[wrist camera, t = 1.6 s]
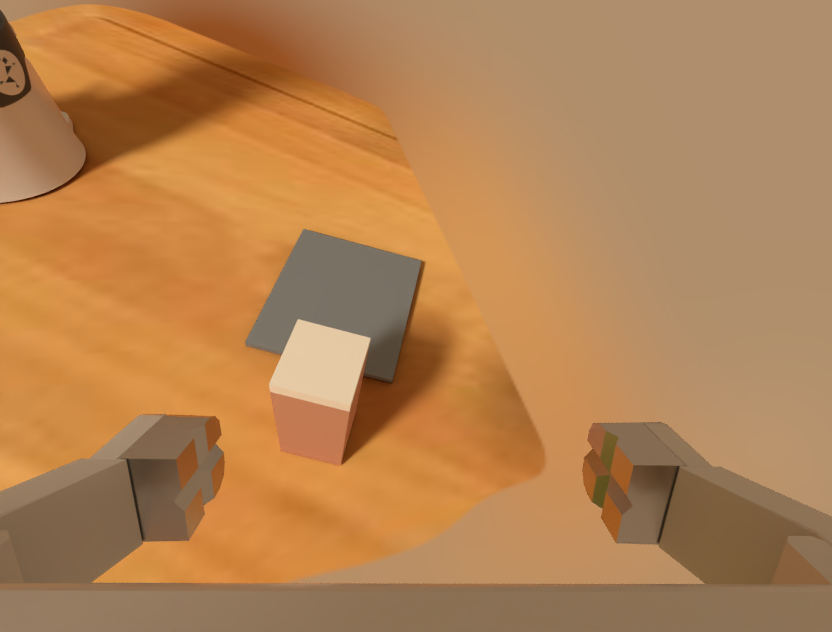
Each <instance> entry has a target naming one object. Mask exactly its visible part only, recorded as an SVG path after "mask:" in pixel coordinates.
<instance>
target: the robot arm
mask: <svg viewBox="0 0 832 632" xmlns="http://www.w3.org/2000/svg"><path fill="white" fill-rule="evenodd" d="M16 36H17V35H16V33H15V31H14V29H13V28H12V26H11V25H10V24H9V23H8V21H7V19H6V18H5V16H4V14H3V13H2V11H1V10H0V203H2V202H10V201H16V200H22V199H26V198H30V197H34V196H37V195H40V194H43V193H46V192H48V191H50V190H53V189H55V188H57V187H59V186H61V185H62V184H64V183H66V182H67V181H69V180H70V179H71V178H72V177H74V176H75V175H76V174H77V173H78V172H79V170H80V169H81V168H82V166H83V164H84V162H85V158H86V151H85V148H84V146H83V144H82V143H81V141H80V140H79V139H78V138H77V136H76V135H75V134H74V132H73V122H72V120H71V119H70V117H69V116H68V114H67V113H65V112H63V111H60V110H59V108H58V106H57V105H56V103H55V101H54V100H53V98H52V96H51V95H50V93H49V92H48V90H47V88H46V87H45V85H44V83H43V82H42V80H41V79H40V77H39V75H38V74H37V72H36V71H35V69H34V68H33V66H32V64H31V63H30V62H29V60H28V59H27V58H25V54H24V52H23V50H22V48H21V46H20V44H19V42H18V40H17V38H16ZM221 435H222V434H221V428H220V422H219V420H218V419H217V418H216V417H215V416H194V415H166V414H144V415H139V416H137V417H136V418H135V419H134V420H133V421H132V422H131V423H129V424H128V425H127V426H126V427H125V428H124V429H123V430H122V431H120V432H119V433H118V434H117V435H116V436H115V437H114V438H112V439H111V440H110V441H109V442H108V443H107V444H106V445H104V446H103V447H102V448H101V449H100V450H99V451H98V452H96V453H95V454H94V455H93V456H92V457H91V458H90V459H79V460H77V461H74V462H72V463H69V464H67V465H64V466H62V467H59V468H57V469H55V470H52V471H50V472H47V473H45V474H42V475H40V476H37V477H35V478H32V479H30V480H27V481H25V482H22V483H20V484H18V485H15V486H13V487H10V488H8V489H5V490H3V491H0V632H832V517H831V516H829V515H827V514H825V513H822V512H820V511H818V510H816V509H814V508H811V507H809V506H807V505H804V504H802V503H800V502H798V501H796V500H793V499H791V498H789V497H787V496H784V495H782V494H780V493H778V492H775V491H773V490H771V489H769V488H766V487H764V486H762V485H760V484H758V483H755V482H753V481H751V480H749V479H746V478H744V477H742V476H739V475H737V474H735V473H733V472H731V471H728V470H726V469H724V468H722V467H713V466H711V465H710V464H709V463H708V462H707V461H706V460H705V459H704V458H703V457H702V456H700V455H699V454H698V453H697V452H696V451H695V450H694V449H693V448H692V447H691V446H690V445H689V444H688V443H686V442H685V441H684V440H683V439H682V438H681V437H680V436H679V435H678V434H677V433H676V432H674V431H673V430H672V429H671V428H670V427H669V426H668V425H667V424H664V423H661V422H650V423H649V422H648V423H593V424H592V426H591V428H590V430H589V435H588V442H589V443H590V445H591V446H592V448H593V449H592V450H591V451H590V452H589V453H588V454H587V455H586V456H585V457H584V463H583V480H584V486H585V488H586V491H587V494H588V496H589V498H590V499H591V501H592V502H593V503H594V504H596V505H597V506H599V507H601V508H602V509H603V510H602V516H601V518H602V520H603V522H604V523H605V525H606V527H607V528H608V530H609V532H610V533H611V535H612V537H613V539H614V540H615V542H616V543H628V544H631V543H632V544H657V545H659V547H660V548H661V549H662V550H664V551H665V552H666V553H667V554H669V555H670V556H671V557H672V558H674V559H675V560H676V561H677V562H679V563H680V564H681V565H683V566H684V567H685V568H686V569H688V570H689V571H690V572H692V573H693V574H694V575H695V576H696V577H698V578H699V579H700V580H702V581H703V582H704V583H705V584H350V583H349V584H348V583H347V584H346V583H344V584H340V583H339V584H337V583H335V584H334V583H333V584H331V583H91V582H93V581H94V580H95V579H97V578H98V577H99V576H101V575H102V574H103V573H105V572H106V571H107V570H109V569H110V568H111V567H113V566H114V565H115V564H117V563H118V562H119V561H121V560H122V559H123V558H125V557H126V556H127V555H129V554H130V553H131V552H133V551H134V550H135V549H137V548H138V547H139V546H141V545H142V544H143V542H147V541H189V540H190V538H191V536H192V535H193V533H194V531H195V530H196V528H197V526H198V525H199V523H200V521H201V520H202V518H203V516H204V515H205V513H204V504H206V503H207V502H209V501H211V500H212V499H214V498H215V496H216V494H217V492H218V491H219V489H220V486H221V483H222V479H223V476H224V465H225V461H224V452H223V451H222V450H221V449H220V448H219V447H218V446H217V445H216V444H215V443H216V442H217V440H218V439H219V437H220V436H221Z"/></svg>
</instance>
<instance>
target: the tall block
mask: <svg viewBox="0 0 832 632" xmlns="http://www.w3.org/2000/svg"><path fill="white" fill-rule="evenodd" d="M370 339H371V338H369V337H365V336H361V335H357V334H353V333H350V332H346V331H342V330H338V329H334V328H330V327H326V326H323V325H319V324H315V323H311V322H307V321H303V320H300V319H298V320H297V322H296V324H295V327H294V329H293V331H292V333H291V336H290V338H289V340H288V342H287V345H286V347H285V349H284V351H283V354H282V356H281V358H280V361H279V363H278V365H277V367H276V370H275V372H274V374H273V376H272V379H271V381H270V383H269V388H270V393H271V399H272V404H273V410H274V415H275V421H276V426H277V432H278V437H279V443H280V448H281V451H283V452H287V453H291V454H295V455H299V456H303V457H308V458H312V459H316V460H320V461H324V462H328V463H332V464H336V465H340V466H341V463H342V459H343V456H344V452H345V449H346V445H347V442H348V438H349V435H350V431H351V428H352V424H353V421H354V417H355V414H356V410H357V405H358V400H359V395H360V390H361V385H362V380H363V375H364V370H365V365H366V359H367V354H368V349H369V344H370Z"/></svg>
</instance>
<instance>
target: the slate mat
mask: <svg viewBox="0 0 832 632" xmlns="http://www.w3.org/2000/svg"><path fill="white" fill-rule="evenodd" d="M420 265H421V261H420V260H417V259H413V258H409V257H406V256H402V255H398V254H395V253H391V252H387V251H383V250H380V249H376V248H372V247H369V246H365V245H361V244H358V243H354V242H350V241H346V240H343V239H339V238H335V237H332V236H328V235H324V234H321V233H317V232H313V231H309V230H306V229H303V231H302V233H301V235H300V237H299V239H298V241H297V243H296V245H295V247H294V249H293V250H292V252H291V254H290V256H289V258H288V260H287V262H286V264H285V266H284V268H283V270H282V272H281V274H280V276H279V278H278V280H277V282H276V283H275V285H274V287H273V289H272V291H271V293H270V295H269V297H268V299H267V301H266V303H265V305H264V307H263V309H262V311H261V313H260V315H259V317H258V318H257V320H256V322H255V324H254V326H253V328H252V330H251V332H250V334H249V336H248V338H247V340H246V342H245V344H246V346H249V347H253V348H257V349H261V350H265V351H269V352H272V353H276V354H280V355H282V354H283V351H284V349H285V347H286V345H287V342H288V340H289V338H290V336H291V333H292V331H293V329H294V327H295V324H296V322H297V320H298V319H300V320H303V321H307V322H311V323H315V324H319V325H323V326H326V327H330V328H334V329H338V330H342V331H346V332H350V333H353V334H357V335H361V336H365V337H369V338H371V339H370V344H369V349H368V354H367V359H366V365H365V370H364V375H363V376H366V377H370V378H374V379H378V380H382V381H386V382H390V383H392V381H393V377H394V373H395V369H396V365H397V361H398V357H399V352H400V348H401V344H402V340H403V336H404V332H405V328H406V323H407V319H408V315H409V311H410V307H411V303H412V299H413V294H414V290H415V286H416V282H417V278H418V274H419V270H420Z"/></svg>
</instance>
